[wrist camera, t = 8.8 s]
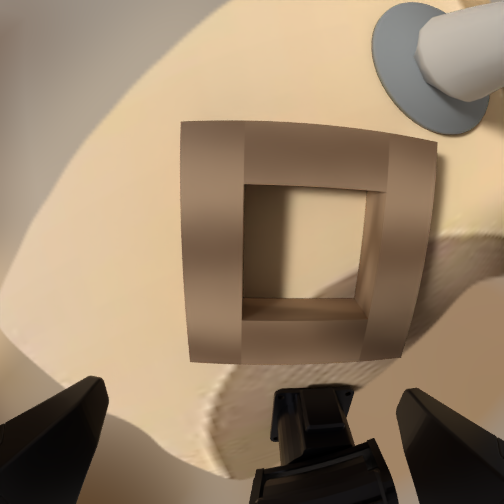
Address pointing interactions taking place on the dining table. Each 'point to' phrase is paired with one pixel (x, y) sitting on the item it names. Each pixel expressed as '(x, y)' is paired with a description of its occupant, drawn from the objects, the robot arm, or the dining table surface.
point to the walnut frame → (315, 175)
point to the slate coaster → (417, 73)
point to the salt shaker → (464, 51)
